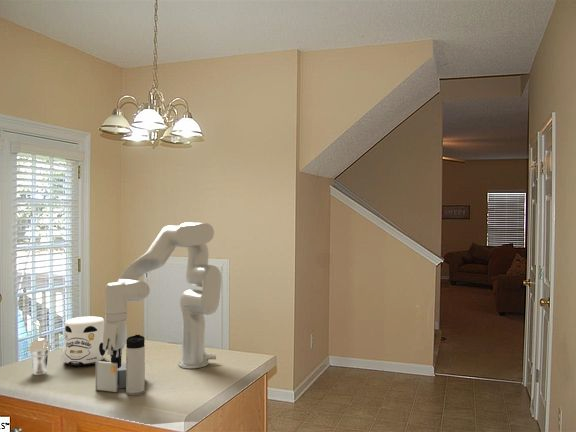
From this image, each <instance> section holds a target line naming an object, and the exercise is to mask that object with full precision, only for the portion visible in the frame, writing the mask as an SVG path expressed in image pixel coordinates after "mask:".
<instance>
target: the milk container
mask: <svg viewBox="0 0 576 432" xmlns="http://www.w3.org/2000/svg"><path fill="white" fill-rule="evenodd" d="M104 327H105V318H103V317H101V316H93V315H92V316H79V317H77V316H76V317H73V318H70V319H67V320H66V321H65V322H64V345H63V349H62V359H63V361H64V363H65V364H68V365H69V366H78V367H79V366H90V365H95V364H96V361H102V362H103V360H104V359H105V357H106V355H107V352H108V349H107V350H103V335H104Z"/></svg>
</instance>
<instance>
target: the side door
mask: <svg viewBox="0 0 576 432" xmlns="http://www.w3.org/2000/svg"><path fill="white" fill-rule="evenodd" d="M117 378H118V363H112V362H111V361H110V362H109V361H103V360H102V361H96V363H95V391H104V392H105V391H106V392H113V393H116V392H118V388H117Z"/></svg>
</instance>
